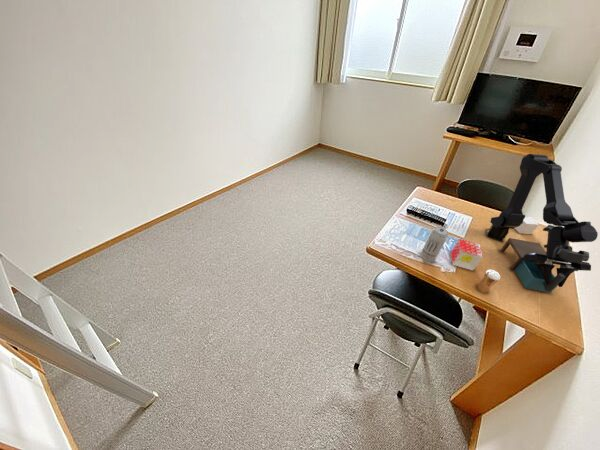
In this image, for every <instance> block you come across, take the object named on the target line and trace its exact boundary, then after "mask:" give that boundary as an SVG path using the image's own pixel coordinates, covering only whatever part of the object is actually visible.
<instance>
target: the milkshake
mask: <svg viewBox="0 0 600 450" xmlns="http://www.w3.org/2000/svg"><path fill="white" fill-rule="evenodd" d="M500 280H501V275H500V273H499V272H498V271H496V270H494V269H488V270H486V272H485V273H484V275H483V277H482V279H481V281H480V282H479V284H478V285H477V289H478V291H480V292H481V293H487V292H488V291H489V290H491V288H492V287H493V286H494V285H495V284H497V283H498V281H500Z"/></svg>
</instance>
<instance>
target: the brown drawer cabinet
mask: <svg viewBox="0 0 600 450" xmlns="http://www.w3.org/2000/svg"><path fill="white" fill-rule="evenodd" d="M509 246H510V247H511V248H512V250H513V252H514V253H515V255H516V256H517V258H516V260H515V261H514V262H513V264H512V265H511V266H510V267H509V269H510V271H515V269H516V268H517V267H518V265H519V264H520V263H521V262H522V261H523V259H524V255H525V254H527V253H537V254H543V255H546V251H547V250H546V249H544V246H542V245H541V243H540V242H535V241H529V240H523V239H517V238H512V237H508V239H507V240H506V242H505V243H504V244H503V246H502V247H501V249H499V252H500V253H501V254H504V253H505V252H506V251H507V249H508V248H509ZM533 262H535V263H537V262H538V261H533ZM552 265H554V264H552Z"/></svg>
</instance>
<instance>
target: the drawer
mask: <svg viewBox="0 0 600 450" xmlns="http://www.w3.org/2000/svg"><path fill="white" fill-rule="evenodd" d="M534 264H537V263H535V262H528V261H522V262H521V263H520V264H519V265H518V267H517V268H516V269H515V270H514V271H515V273H516V275H517V277H518V279H519V280H520V282H521V283H522V285H523V287H524V289H528V290H534V291H539V292H544V293H552V292H553V291H554V290H556V288H557V287H559V286H558V284H559V283H560V282H561V281H562V280H563V279H564V278H565V275H564V274H562V273H559V274H558V275H557V274H556V275H554V273H553V272H552V274H551V282H550V285H547V284H546V282H545V280H544V278H543V276H542V274H541V272H540V271H539V269H538V267H537V266H536V265H534Z"/></svg>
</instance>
